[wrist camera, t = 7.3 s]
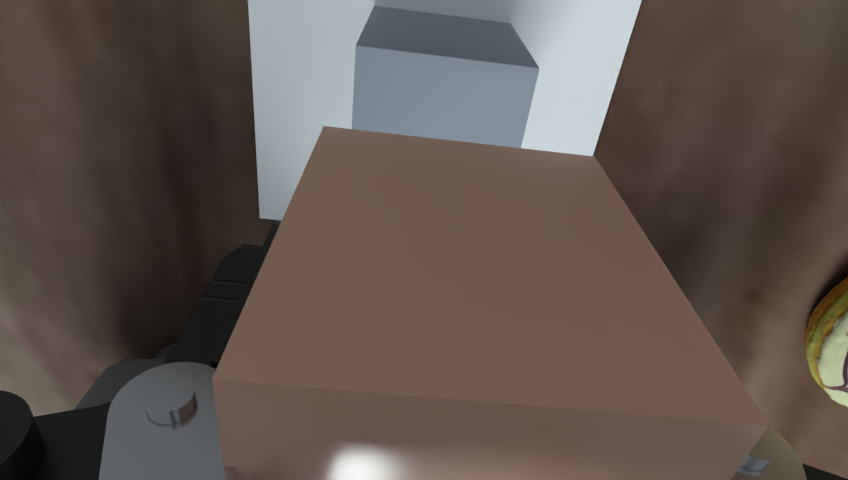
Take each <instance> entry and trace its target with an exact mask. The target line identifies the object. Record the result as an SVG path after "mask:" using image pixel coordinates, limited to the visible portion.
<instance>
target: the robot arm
mask: <svg viewBox="0 0 848 480" xmlns="http://www.w3.org/2000/svg"><path fill="white" fill-rule="evenodd" d="M280 224H281V221H279V220H276V221H275V222H274V223H273V225H272V227H271V230H270V232H269V234H268V236H267V238H266V240H265V243H264V245H263V246H256V245H246V244H242V245H241V246H240V247H238V248H237V249H236V250H234V251H233V252H232V253H230V254H229V255H227V256H226V257H225V258H223V259H222V260H221V262H220V264H219V266H218V267H217V269H216V271H215V273H214V275H213V276H212V278H211V283H209V284H208V285H207V287H206V289H205V291H204V293H203V294H202V299H201V300H199V302H198V303H197V305H196V307H195V309H194V311H193V312H192V314H191V316H190V318H189V319H188V321H187V323H186V325H185V327H184V328H183V330H182V332H181V334H180V336H179V337H178V339H177V341H176V343H175V345H174V346H173V348H172V350H171V352H170V354H169V355H168V357H167V359H166V361H165V363H164V364H163V365H160V366H157V367H154V368H152V369H149V370H147V371H145V372H143V373H141V374H140V375H138V376H136V377H134V378H133V379H132V380H131V381H129V382H128V383H127V384H126V385H125V386H124V387H123V388H122V389H121V390H120V391H119V392H118V393H117V395H116V396H115V397H114V399H113V401H112V402H109V403H106V404H103V405H98V406H94V407H89V408H83V409H77V410H71V411H65V412H60V413H54V414H48V415H42V416H36V417H33V415H32V412H31V410H30V407H29V405H28V404H27V403H26V401H25V400H24V399H22V398H21V397H19V396H18V395H15V394H13V393H10V392H6V391H0V480H238V476H237V467H226V466H224V465H223V458H222V451H221V443H220V436H219V429H218V421H217V414H216V406H215V399H214V392H213V384H212V378H213V375H214V373H215V371H216V369H217V366H218V364H219V362H220V360H221V357H222V355H223V353H224V351H225V348H226V346H227V344H228V341H229V339H230V337H231V335H232V332H233V330H234V328H235V326H236V323H237V321H238V319H239V317H240V314H241V312H242V310H243V307H244V305H245V303H246V301H247V298H248V296H249V294H250V292H251V289H252V287H253V285H254V282H255V280H256V278H257V276H258V273H259V271H260V269H261V267H262V264H263V262H264V260H265V258H266V255H267V253H268V251H269V248H270V246H271V244H272V242H273V239H274V237H275V235H276V233H277V230H278V228H279V226H280ZM731 480H848V479H846V478H843V477H840V476H837V475H834V474H831V473H828V472H825V471H822V470H820V469H817V468H814V467H811V466H808V465H805V464H803V463H802V462H801V460H800V458H799V457H798V455H797V453H796V452H795V450H794V449H793V448H792V446H791V445H790V444H789V443H788V442H787V441H786V440H785V439H784V438H783V437H782V436H781V435H780V434H779V433H778V432H777V431H775V430H774V429H773V428H771V427H770V426H768V428H767V429H766V431H765V432H764V433H763V435H762V436H761V438H760V439H759V440H758V442H757V443H756V445H755V446H754V447H753V449H752V450H751V452H750V453H749V454H748V456H747V457H746V459H745V460H744V462H743V463H742V464H741V466H740V467H739V469H738V470H737V471H736V473H735V474H734V476H733V477H732V478H731Z"/></svg>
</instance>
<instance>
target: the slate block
mask: <svg viewBox="0 0 848 480" xmlns="http://www.w3.org/2000/svg"><path fill="white" fill-rule="evenodd" d="M539 69H540V68H539V67H538V65H537V63H536V62H535V60H534V59H533V57H532V56H531V54H530V53H529V51H528V50H527V48H526V46H525V45H524V43H523V42H522V40H521V39H520V37H519V36H518V34H517V33H516V31H515V29H514V28H513V26H512V25H511V23H505V22H497V21H489V20H482V19H474V18H466V17H458V16H451V15H443V14H435V13H427V12H420V11H412V10H404V9H396V8H389V7H381V6H374V7H373V9H372V11H371V13H370V15H369V18H368V20H367V22H366V24H365V26H364V29H363V31H362V33H361V35H360V37H359V39H358V42H357V44H356V50H355V70H354V91H353V111H352V129H355V130H364V131H373V132H382V133H391V134H400V135H409V136H417V137H426V138H435V139H444V140H453V141H462V142H471V143H480V144H488V145H497V146H506V147H515V148H521V146H522V141H523V137H524V133H525V129H526V124H527V120H528V116H529V112H530V107H531V103H532V99H533V94H534V90H535V86H536V82H537V77H538V73H539Z"/></svg>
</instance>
